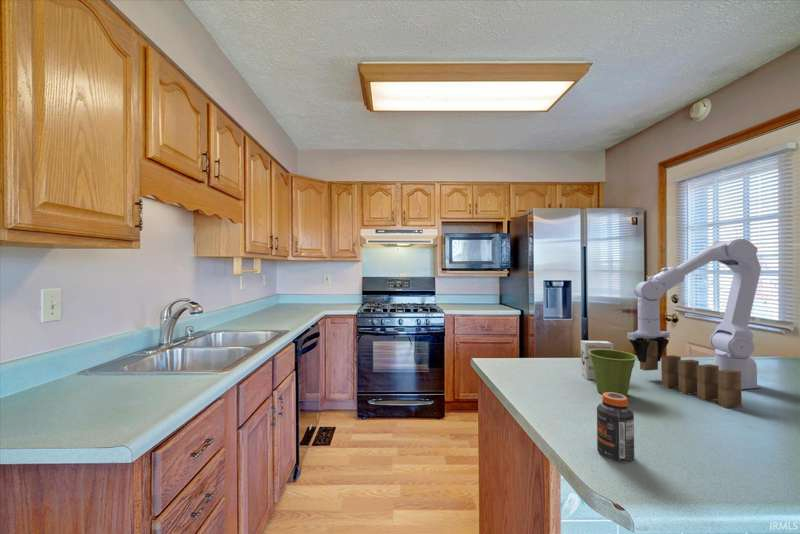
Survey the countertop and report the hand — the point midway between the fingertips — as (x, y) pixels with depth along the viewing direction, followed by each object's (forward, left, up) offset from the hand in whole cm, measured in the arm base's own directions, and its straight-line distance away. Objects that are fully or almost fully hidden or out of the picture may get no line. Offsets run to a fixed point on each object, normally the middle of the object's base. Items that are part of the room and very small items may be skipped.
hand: (649, 361), depth 107 cm
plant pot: (+22, +8, -6) cm, 24 cm away
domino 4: (0, +17, -6) cm, 18 cm away
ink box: (+15, -5, -6) cm, 17 cm away
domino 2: (0, +7, -6) cm, 9 cm away
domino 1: (0, 0, -3) cm, 3 cm away
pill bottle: (+48, +35, -6) cm, 60 cm away
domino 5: (0, +22, -6) cm, 23 cm away
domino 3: (0, +12, -6) cm, 13 cm away
